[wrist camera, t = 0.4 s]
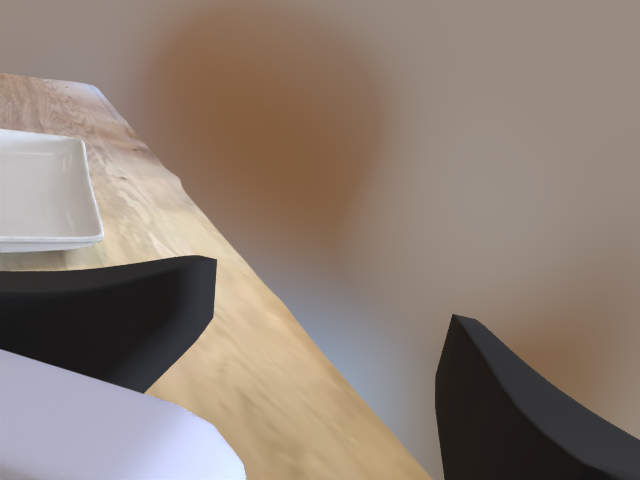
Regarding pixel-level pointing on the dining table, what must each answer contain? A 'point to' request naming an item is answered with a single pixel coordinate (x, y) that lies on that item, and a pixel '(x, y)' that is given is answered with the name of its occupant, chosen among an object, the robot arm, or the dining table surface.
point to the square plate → (45, 194)
